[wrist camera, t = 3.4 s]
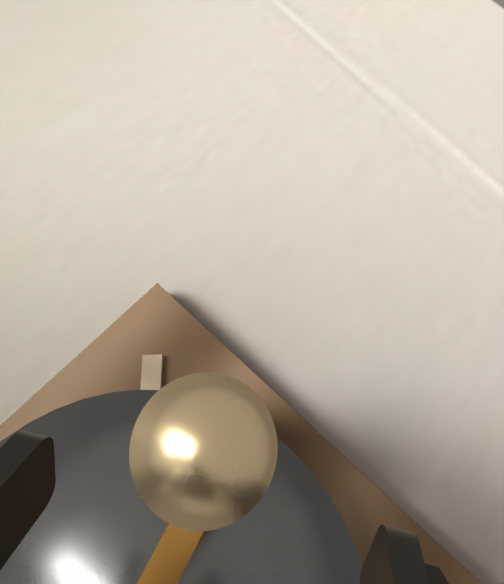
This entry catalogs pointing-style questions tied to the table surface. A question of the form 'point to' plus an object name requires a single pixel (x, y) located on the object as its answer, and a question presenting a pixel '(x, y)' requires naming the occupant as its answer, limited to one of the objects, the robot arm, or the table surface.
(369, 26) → the table surface
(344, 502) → the stand base
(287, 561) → the crank turntable
